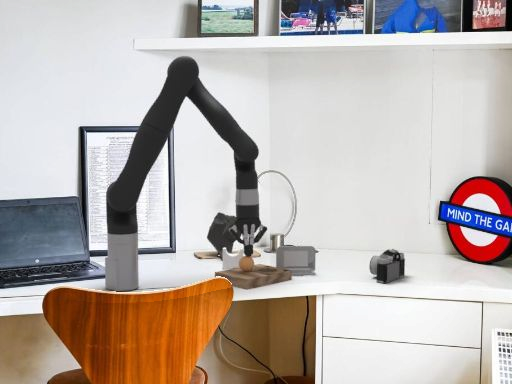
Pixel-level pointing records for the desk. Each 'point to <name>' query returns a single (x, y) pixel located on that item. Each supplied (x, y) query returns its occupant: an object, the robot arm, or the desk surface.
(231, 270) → the brown wooden flat block
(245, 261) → the ball
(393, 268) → the camera
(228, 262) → the bracket
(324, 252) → the desk surface
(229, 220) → the dark grey rock
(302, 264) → the toaster
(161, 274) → the desk surface
